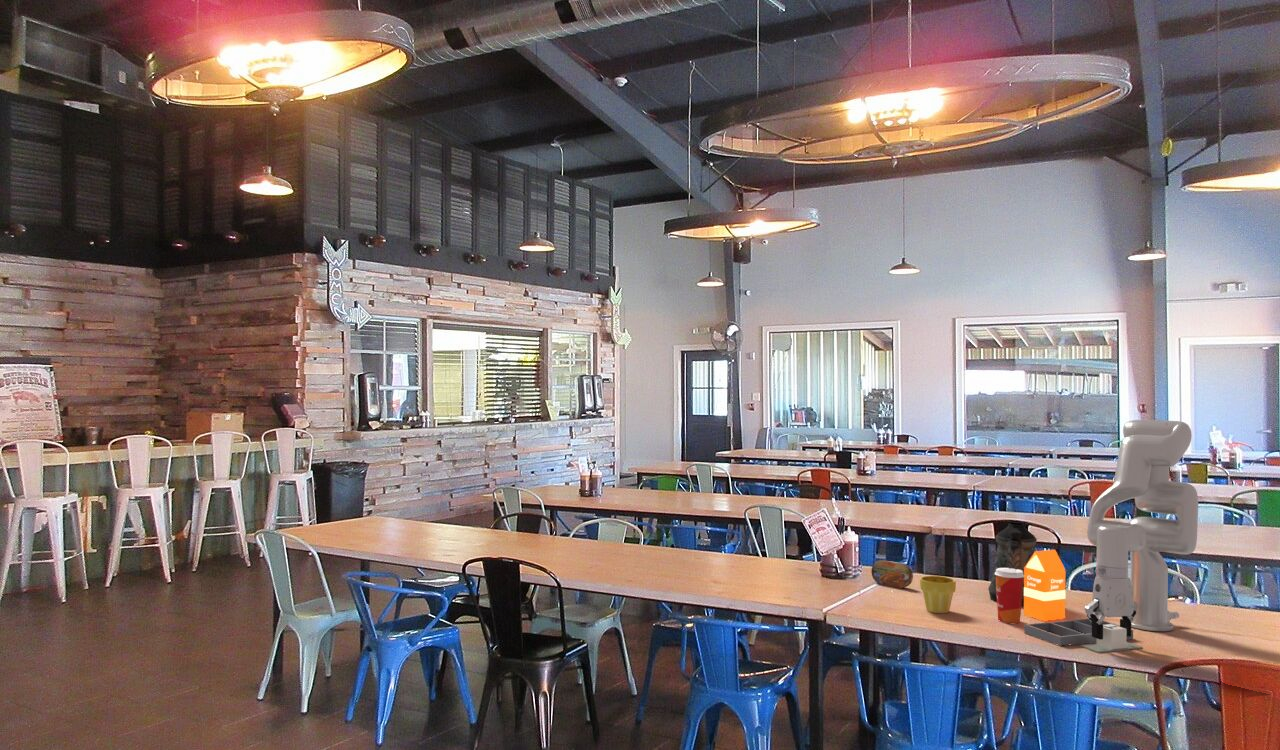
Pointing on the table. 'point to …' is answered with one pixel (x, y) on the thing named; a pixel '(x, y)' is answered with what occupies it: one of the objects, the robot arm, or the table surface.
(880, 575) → the tin
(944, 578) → the plant pot
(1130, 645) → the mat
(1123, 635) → the letter cube
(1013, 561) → the dark ornate vase
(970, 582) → the table surface
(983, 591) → the table surface
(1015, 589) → the coffee cup
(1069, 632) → the sorting box
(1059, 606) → the orange juice
